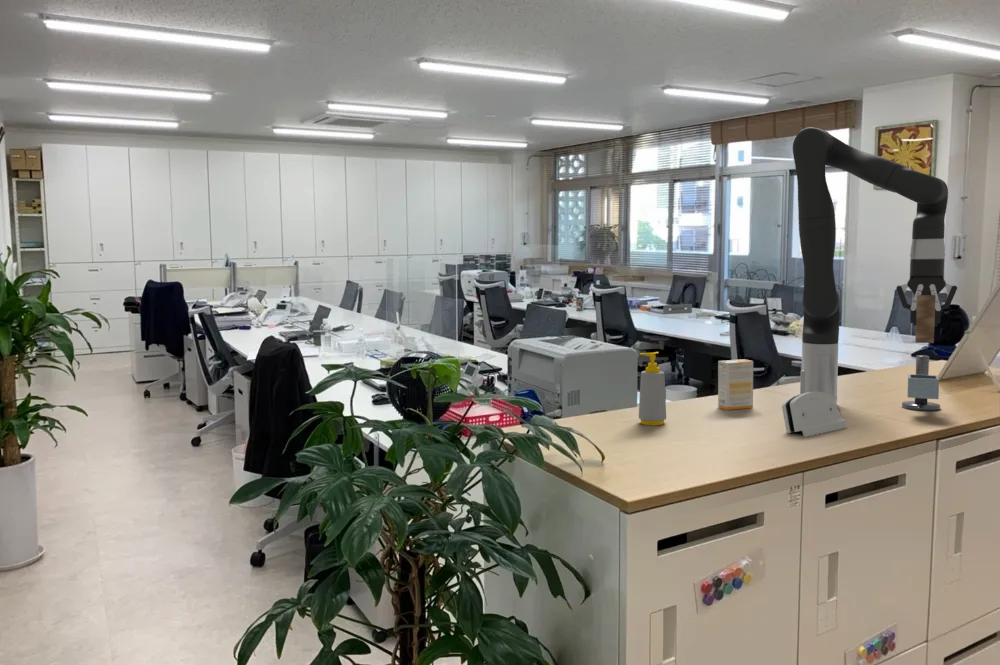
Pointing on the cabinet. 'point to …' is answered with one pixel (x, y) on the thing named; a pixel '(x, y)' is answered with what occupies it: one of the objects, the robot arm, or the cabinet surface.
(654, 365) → the soap bottle
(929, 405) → the cup bracket
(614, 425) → the cabinet surface
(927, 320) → the rail post
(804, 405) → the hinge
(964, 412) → the cabinet surface
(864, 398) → the cabinet surface
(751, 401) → the supplement box
